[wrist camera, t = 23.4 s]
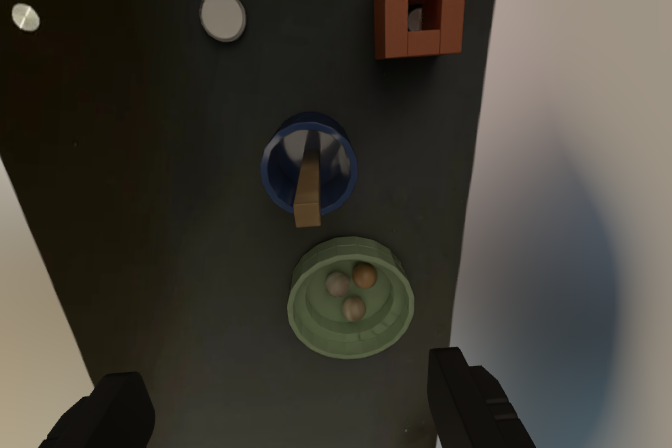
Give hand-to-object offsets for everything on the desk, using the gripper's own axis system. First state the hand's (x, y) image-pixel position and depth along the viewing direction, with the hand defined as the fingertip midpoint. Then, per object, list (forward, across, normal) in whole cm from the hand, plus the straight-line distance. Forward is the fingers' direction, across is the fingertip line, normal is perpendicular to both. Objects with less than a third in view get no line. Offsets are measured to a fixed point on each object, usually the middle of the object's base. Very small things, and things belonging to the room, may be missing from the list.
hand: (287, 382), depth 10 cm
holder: (+30, -10, -12) cm, 34 cm away
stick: (+30, 0, 0) cm, 30 cm away
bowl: (+30, -3, +17) cm, 35 cm away
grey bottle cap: (+30, +7, -13) cm, 33 cm away
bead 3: (+28, -4, +19) cm, 34 cm away
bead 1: (+28, -2, +15) cm, 32 cm away
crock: (+30, 0, 0) cm, 30 cm away
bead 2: (+28, -5, +14) cm, 32 cm away
